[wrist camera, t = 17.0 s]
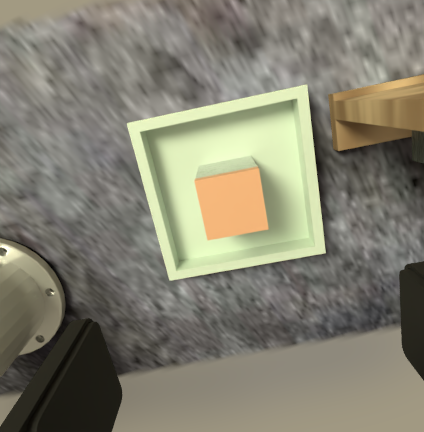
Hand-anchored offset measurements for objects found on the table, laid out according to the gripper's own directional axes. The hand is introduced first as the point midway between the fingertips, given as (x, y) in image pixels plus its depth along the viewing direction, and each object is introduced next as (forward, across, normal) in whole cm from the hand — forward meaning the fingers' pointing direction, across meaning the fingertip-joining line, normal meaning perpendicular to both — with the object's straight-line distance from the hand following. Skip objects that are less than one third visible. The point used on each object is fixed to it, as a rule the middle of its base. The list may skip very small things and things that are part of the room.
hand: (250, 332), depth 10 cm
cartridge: (+20, 0, 0) cm, 20 cm away
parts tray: (+20, 0, 0) cm, 20 cm away
